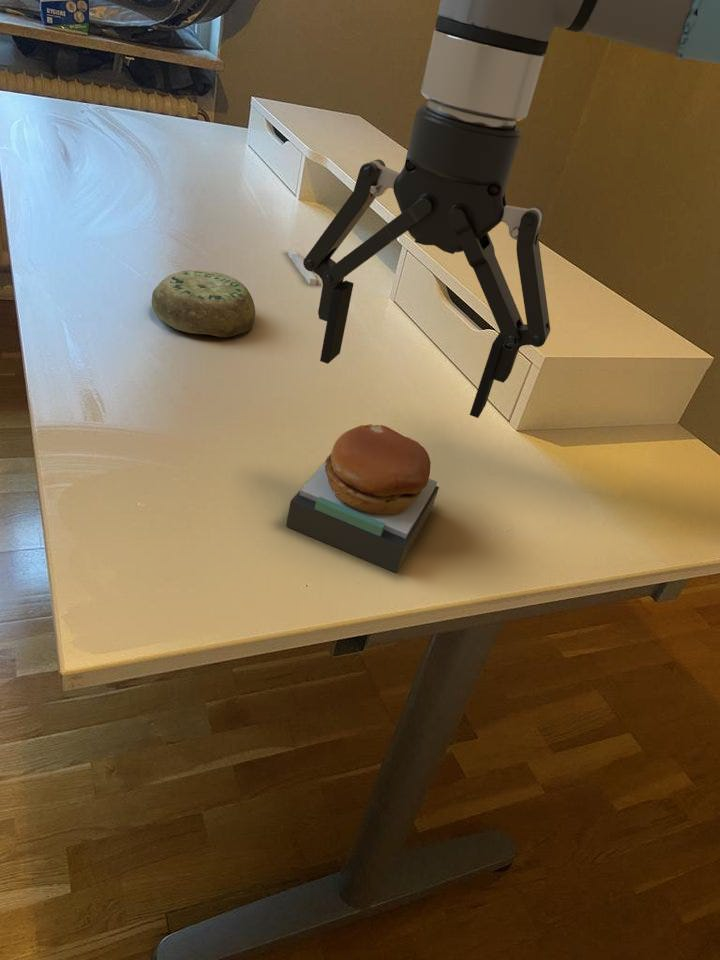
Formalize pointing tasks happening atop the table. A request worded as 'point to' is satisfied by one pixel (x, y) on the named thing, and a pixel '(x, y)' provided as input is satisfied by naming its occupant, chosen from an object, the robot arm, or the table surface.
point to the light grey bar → (302, 267)
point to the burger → (377, 469)
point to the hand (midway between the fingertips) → (402, 383)
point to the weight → (204, 303)
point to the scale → (359, 522)
